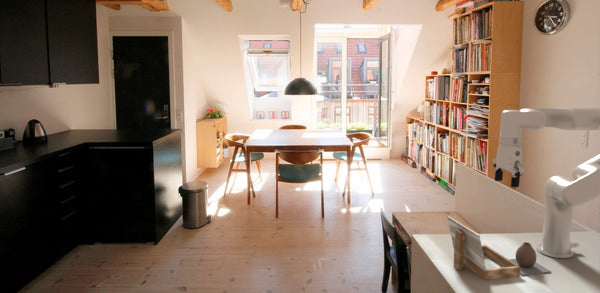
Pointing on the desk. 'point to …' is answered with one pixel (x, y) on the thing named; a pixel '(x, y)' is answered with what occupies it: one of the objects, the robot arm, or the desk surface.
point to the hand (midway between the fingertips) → (506, 183)
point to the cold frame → (478, 254)
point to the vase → (526, 255)
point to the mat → (531, 269)
